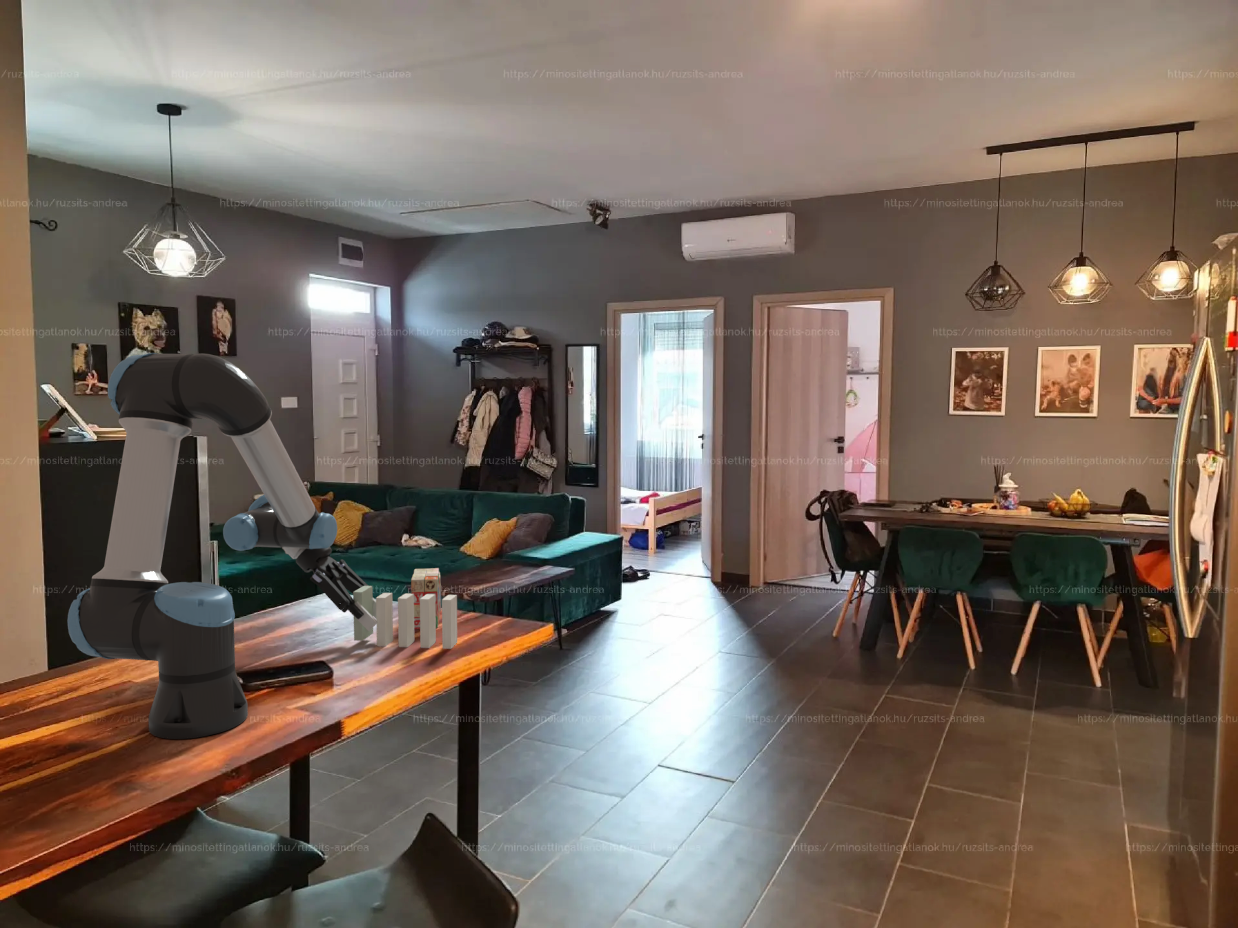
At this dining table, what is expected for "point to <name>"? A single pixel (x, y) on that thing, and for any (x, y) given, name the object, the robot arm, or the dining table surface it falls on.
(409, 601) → the domino
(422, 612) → the domino
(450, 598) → the domino
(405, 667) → the dining table surface
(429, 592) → the stack of blocks
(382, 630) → the domino
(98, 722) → the dining table surface
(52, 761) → the dining table surface
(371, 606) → the sage domino
